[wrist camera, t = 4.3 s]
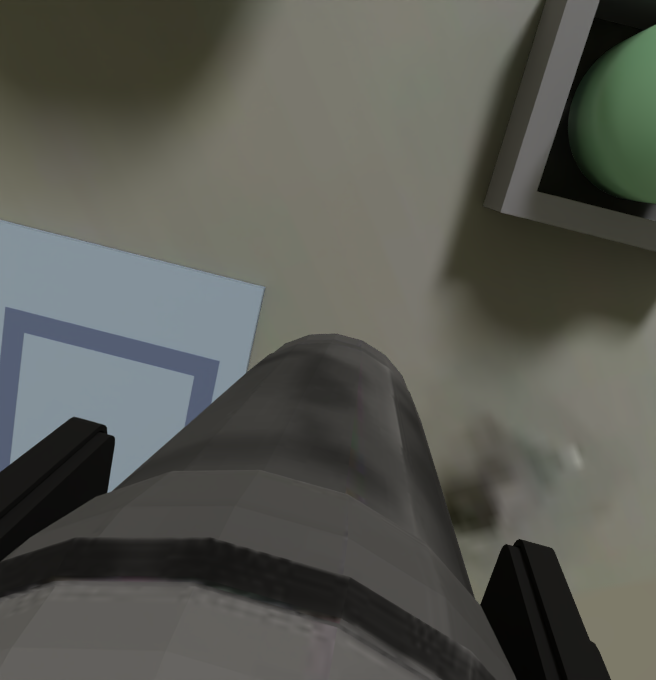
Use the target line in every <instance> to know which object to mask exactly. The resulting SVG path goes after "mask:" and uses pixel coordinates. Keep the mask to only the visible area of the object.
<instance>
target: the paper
mask: <svg viewBox="0 0 656 680" xmlns="http://www.w3.org/2000/svg"><path fill="white" fill-rule="evenodd" d="M264 291H265V287H263V286H259V285H255V284H251V283H247V282H243V281H239V280H235V279H231V278H227V277H224V276H220V275H216V274H212V273H208V272H204V271H200V270H196V269H192V268H188V267H184V266H180V265H176V264H172V263H168V262H165V261H161V260H157V259H153V258H149V257H145V256H141V255H137V254H133V253H129V252H125V251H121V250H117V249H113V248H109V247H106V246H102V245H98V244H94V243H90V242H86V241H82V240H78V239H74V238H70V237H66V236H62V235H58V234H54V233H50V232H47V231H43V230H39V229H35V228H31V227H27V226H23V225H19V224H15V223H11V222H7V221H3V220H0V472H1V471H2V470H3V469H5V468H6V467H7V466H9V465H10V464H11V463H13V462H14V461H15V460H16V459H18V458H19V457H20V456H22V455H23V454H24V453H26V452H27V451H28V450H30V449H31V448H32V447H33V446H35V445H36V444H37V443H39V442H40V441H41V440H43V439H44V438H45V437H47V436H48V435H49V434H50V433H52V432H53V431H54V430H56V429H57V428H58V427H60V426H61V425H62V424H63V423H65V422H66V421H67V420H69V419H70V418H72V417H78V418H82V419H85V420H89V421H93V422H96V423H100V424H103V425H106V427H107V434H109V435H112V436H114V437H115V447H114V454H113V460H112V466H111V473H110V479H109V486H108V492H107V493H109V492H111V491H113V490H114V489H115V488H116V487H117V486H118V485H119V484H121V483H122V482H123V481H124V480H125V479H126V478H127V477H128V476H130V475H131V474H132V473H133V472H134V471H135V470H136V469H138V468H139V467H140V466H141V465H142V464H143V463H144V462H146V461H147V460H148V459H149V458H150V457H151V456H152V455H153V454H155V453H156V452H157V451H158V450H159V449H160V448H161V447H163V446H164V445H165V444H166V443H167V442H168V441H169V440H171V439H172V438H173V437H174V436H175V435H176V434H177V433H178V432H180V431H181V430H182V429H183V428H184V427H185V426H186V425H188V424H189V423H190V422H191V421H192V420H193V419H194V418H196V417H197V416H198V415H199V414H200V413H201V412H202V411H203V410H205V409H206V408H207V407H208V406H209V405H210V404H211V403H213V402H214V401H215V400H216V399H217V398H218V397H219V396H221V395H222V394H223V393H224V392H225V391H226V390H227V389H228V388H230V387H231V386H232V385H233V384H234V383H235V382H236V381H238V380H239V379H240V378H241V377H242V376H243V375H244V374H246V373H247V369H248V364H249V360H250V355H251V351H252V346H253V342H254V337H255V332H256V328H257V323H258V319H259V314H260V310H261V305H262V300H263V296H264Z"/></svg>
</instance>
